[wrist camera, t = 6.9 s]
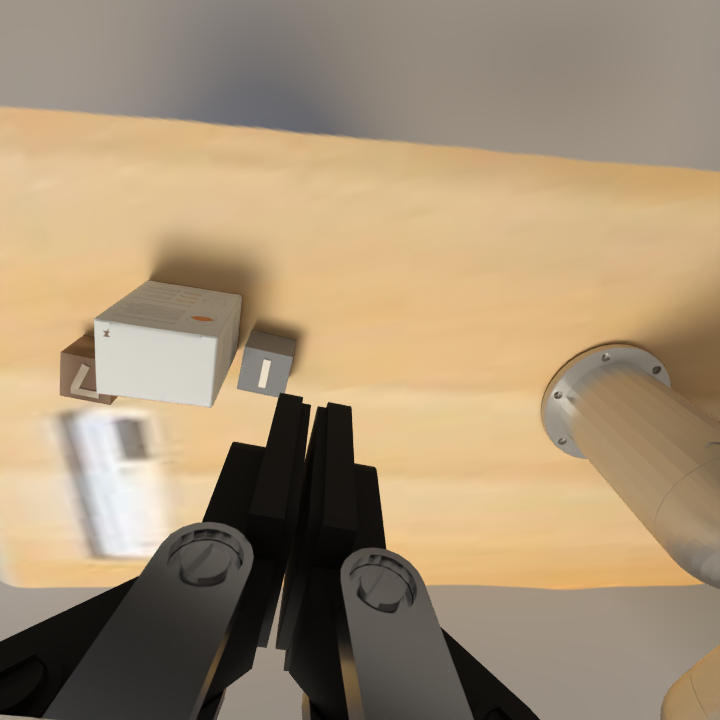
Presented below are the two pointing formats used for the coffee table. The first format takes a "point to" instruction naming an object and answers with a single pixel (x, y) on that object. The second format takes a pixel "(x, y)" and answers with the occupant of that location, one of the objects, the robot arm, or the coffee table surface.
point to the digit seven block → (81, 372)
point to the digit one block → (266, 364)
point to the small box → (167, 344)
